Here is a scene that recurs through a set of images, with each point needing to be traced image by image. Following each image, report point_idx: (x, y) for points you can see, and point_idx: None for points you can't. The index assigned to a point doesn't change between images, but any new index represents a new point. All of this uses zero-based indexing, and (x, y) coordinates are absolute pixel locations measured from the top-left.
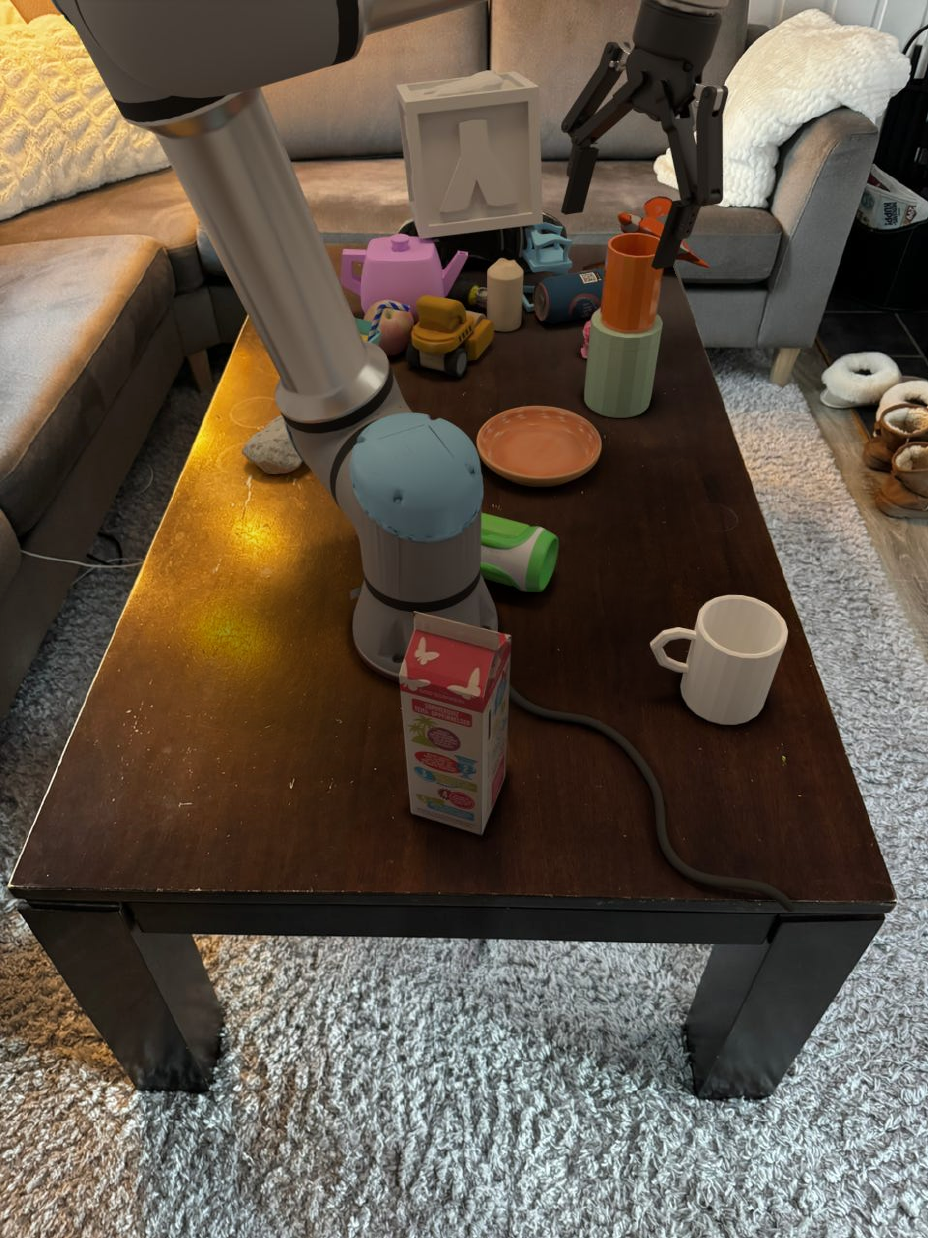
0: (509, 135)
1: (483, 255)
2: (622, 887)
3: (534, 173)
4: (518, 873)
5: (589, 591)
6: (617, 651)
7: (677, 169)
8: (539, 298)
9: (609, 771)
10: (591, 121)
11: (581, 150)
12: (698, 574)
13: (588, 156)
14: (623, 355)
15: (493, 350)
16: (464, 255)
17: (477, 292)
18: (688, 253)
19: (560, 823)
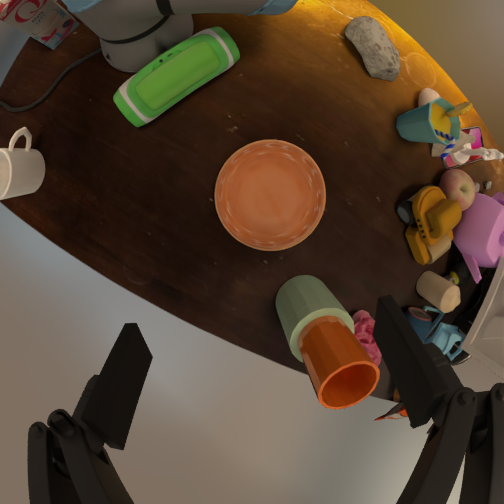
0: None
1: (473, 308)
2: (3, 82)
3: (487, 360)
4: (26, 46)
5: (116, 141)
6: (71, 132)
7: (90, 480)
8: (422, 314)
9: (29, 95)
10: (453, 461)
11: (435, 396)
12: (96, 219)
13: (417, 402)
14: (295, 311)
15: (408, 256)
16: (476, 278)
17: (453, 279)
18: (384, 416)
19: (27, 66)
